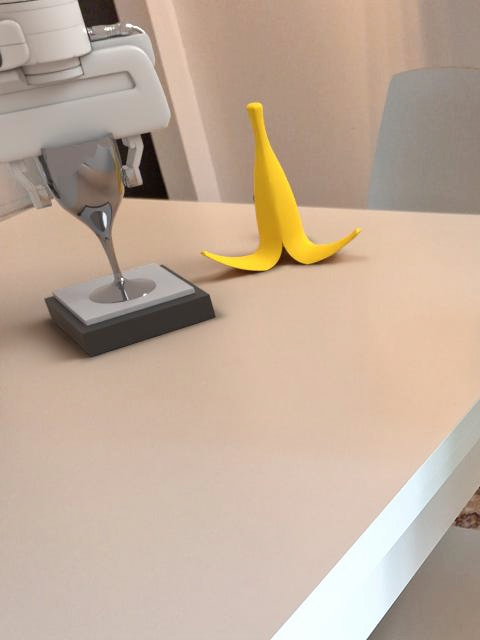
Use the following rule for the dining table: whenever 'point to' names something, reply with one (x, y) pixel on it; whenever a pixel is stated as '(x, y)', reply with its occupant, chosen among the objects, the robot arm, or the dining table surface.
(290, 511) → the dining table surface
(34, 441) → the dining table surface
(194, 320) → the scale
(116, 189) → the wine glass
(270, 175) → the banana peel
